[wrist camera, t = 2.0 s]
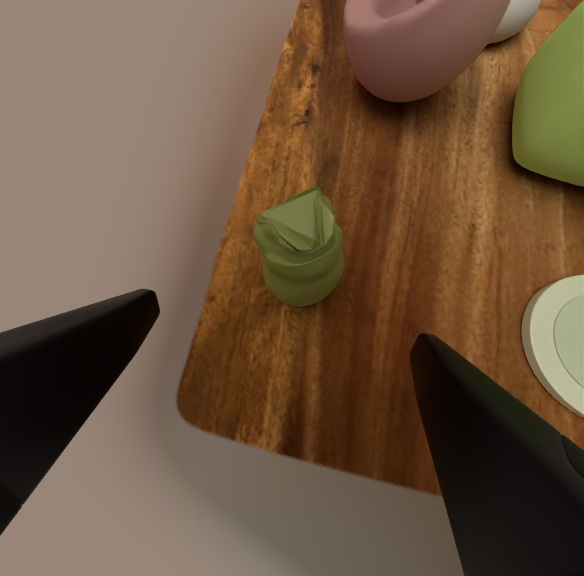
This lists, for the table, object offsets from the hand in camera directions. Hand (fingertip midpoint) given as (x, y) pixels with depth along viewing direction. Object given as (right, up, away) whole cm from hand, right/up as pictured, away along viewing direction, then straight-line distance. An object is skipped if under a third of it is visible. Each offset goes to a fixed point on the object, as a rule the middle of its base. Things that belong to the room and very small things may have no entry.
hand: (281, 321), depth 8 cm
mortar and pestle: (+11, +22, +17) cm, 30 cm away
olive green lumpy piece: (+1, +2, +12) cm, 12 cm away
